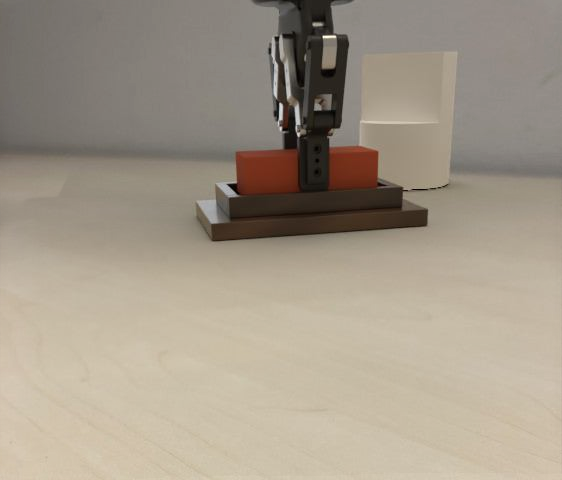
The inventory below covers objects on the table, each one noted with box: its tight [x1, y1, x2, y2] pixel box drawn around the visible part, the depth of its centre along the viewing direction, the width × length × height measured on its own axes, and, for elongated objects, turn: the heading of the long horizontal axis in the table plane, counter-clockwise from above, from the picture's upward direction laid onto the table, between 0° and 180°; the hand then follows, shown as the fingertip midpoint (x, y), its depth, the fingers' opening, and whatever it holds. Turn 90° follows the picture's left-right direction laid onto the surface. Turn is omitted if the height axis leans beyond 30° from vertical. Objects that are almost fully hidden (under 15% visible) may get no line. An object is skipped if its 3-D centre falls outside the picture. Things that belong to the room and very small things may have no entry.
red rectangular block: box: [235, 145, 378, 195], centre depth 53 cm, size 10×4×3 cm, turn 103°
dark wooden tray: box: [195, 178, 429, 242], centre depth 54 cm, size 16×10×3 cm, turn 102°
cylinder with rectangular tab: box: [358, 50, 459, 190], centre depth 69 cm, size 9×9×12 cm
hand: (305, 185), depth 54 cm, fingers closed on red rectangular block, 4 cm apart
